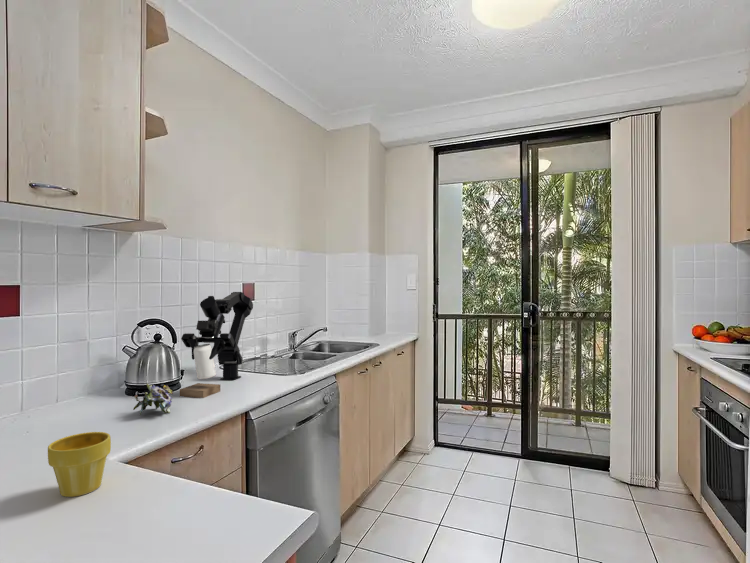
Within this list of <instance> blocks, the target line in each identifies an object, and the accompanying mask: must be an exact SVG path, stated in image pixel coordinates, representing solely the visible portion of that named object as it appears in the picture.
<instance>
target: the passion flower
mask: <svg viewBox="0 0 750 563" xmlns="http://www.w3.org/2000/svg"><path fill="white" fill-rule="evenodd" d="M145 386H146V387H147V389H148V391H149V393H148V392H144V396H143V399H142V400H140V399H139V398H138V395H137V394H136V395H134V399H136V402H137V404H135V406H134V407H133V411H135V410H136V409H137V408H139V407H140V413H139V416H141V415H142V413H143V412H144V410H146V408H148V406H149V407H152V406H153V405H154V407H155V410H157V409H159V408H160V410H161V411H162V412H163V413H164V414H170V413H171V409H170V408H171V406H172V402H173V401H172V396H170V394H171V395H174V392H173V390H172V389H170V387H169V385H168V384H166V385H165V384H164V385H163V387H160V386H158V385H157V386H156V385H155V384H151V385H150V384H149V383H146V385H145Z"/></svg>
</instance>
